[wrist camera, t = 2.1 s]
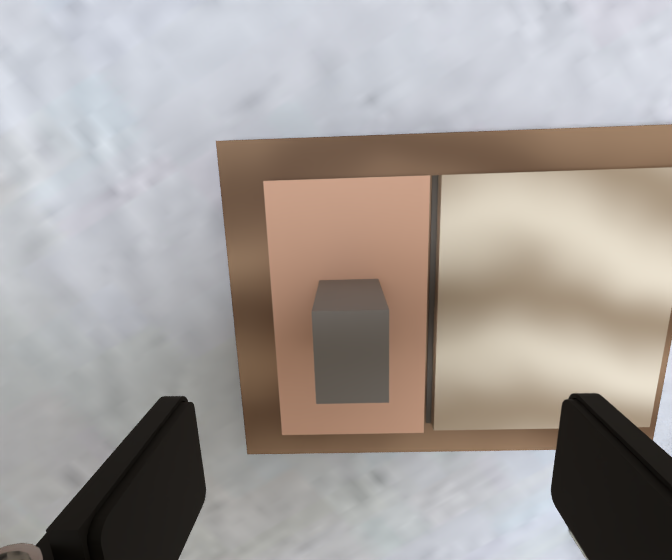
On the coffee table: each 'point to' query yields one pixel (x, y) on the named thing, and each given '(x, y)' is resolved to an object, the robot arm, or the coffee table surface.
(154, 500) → the robot arm
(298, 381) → the peach lid with handle
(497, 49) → the coffee table surface
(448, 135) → the board
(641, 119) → the coffee table surface
